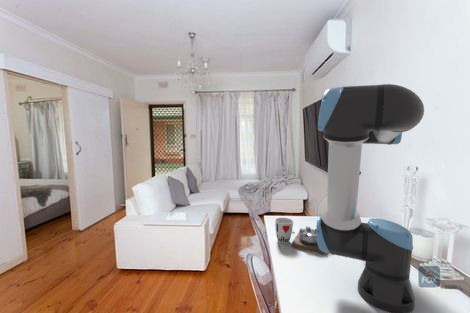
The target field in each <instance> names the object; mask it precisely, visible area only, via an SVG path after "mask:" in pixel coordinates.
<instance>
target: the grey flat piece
mask: <svg viewBox="0 0 470 313" xmlns="http://www.w3.org/2000/svg"><path fill="white" fill-rule="evenodd" d="M298 233H299V240H300V241H301V242H302V243H304V244H307V245H312V246H318V243H317V235H316V233H317V229H316V228H314V229H312V228H311V227H310V226H305V228H299V231H298Z"/></svg>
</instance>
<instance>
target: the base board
mask: <svg viewBox="0 0 470 313" xmlns="http://www.w3.org/2000/svg"><path fill="white" fill-rule="evenodd" d="M291 248H292V249H298V250H301V251H306V252H311V253H315V254H319V255H323V256H325V255H326V253H325V252H323V251H321V250H320V249H319V247H318V246H312V245H307V244H304V243H302V242H301V241H300V240H299V232H298V233H297V234H296V236H295V237H294V239H293V240H292V242H291Z"/></svg>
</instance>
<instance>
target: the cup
mask: <svg viewBox="0 0 470 313" xmlns="http://www.w3.org/2000/svg"><path fill="white" fill-rule="evenodd" d="M274 222H275V223H274V224H275V225H274V226H275V234H276V238H277V242H278V243H279V244H285V245H286V244H288V243H289V242H290V240H291V239H292V238H291V237H292V234H293V233H292V231H293V227H294V225H293V224H294V220H293V219H291V218H287V217H277V218H275V221H274Z"/></svg>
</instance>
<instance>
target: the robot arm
mask: <svg viewBox="0 0 470 313" xmlns="http://www.w3.org/2000/svg"><path fill="white" fill-rule="evenodd" d="M318 114H319V115H318V121H317V130H318V131H319V132H323V139H324V140H326V141H327V142H328V156H327V157H328V159H327V184H326V185H327V188H326V191H327V192H326V209H325V210H324V211H323V212H322V213H321V215H320V216H318V217H317V219H316V228H315V229H317V233H316V235H317V243H318V247H319V249H320V250H321V251H323V252H325V254H329V255H332V256H339V257H344V258H349V259H353V260H357V261H359V260H360V261H362V262H365V266H364V269H363V270H362V273H361V274H360V276H359V278H358V280H357V292H358V293H359V295H360V296H361V298H363V300H365V301H366V302H367V303H369V304H371V305H372V306H373V307H376V308H378V309H380V310H384V311H387V312H390V313H410V312H412V311H413V310H414V309H415V304H416V298H415V293H414V290H413V287H412V284H411V281H410V279H411V278H410V275H411V266H412V253H413V249H414V243H413V241H414V240H413V233H411V231H410V230H409V229H408V228H406V227H404V226H403V225H401V224H399V223H397V222H394V221H390V220H387V219H383V218H379V217H378V218H377V217H376V218H375V217H373V218H370V219H368V221H367V222H362V219H361V217H360V215H359V214H358V213H357V210H358V209H357V206H358V194H359V184H360V175H361V174H362V171H361V158H362V147H363V144H365V145H367V144H368V145H371V144H372V145H376V144H377V145H391V146H392V145H399V144H400V143H401V141H402V136H403V133H405V132H408V131H409V132H410V130H413V129H414V128H415V127H416V126H418V124H420V123H421V121H422V119H423V117H424V114H425V105H424V103H423V101H422V99H421V98H420V96H419V95H418V94H417V93H416V92H414V91H413V90H411V89H409V88H407V87H404V86H402V85H397V84H392V83H391V84H390V83H386V84H385V83H384V84H383V83H382V84H371V85H350V86H349V85H348V86H345V85H343V86H338V87H331V88H328V89H325V91H324V93H323V95H322V99H321V102H320V106H319V113H318Z"/></svg>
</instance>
